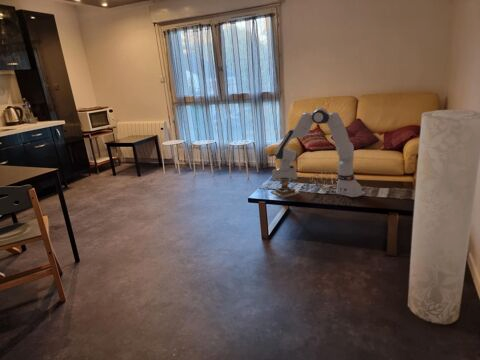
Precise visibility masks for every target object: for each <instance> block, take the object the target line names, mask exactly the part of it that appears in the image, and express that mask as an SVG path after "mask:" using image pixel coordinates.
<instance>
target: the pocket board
mask: <svg viewBox="0 0 480 360" xmlns="http://www.w3.org/2000/svg"><path fill="white" fill-rule="evenodd" d="M288 187H289V189H286V190H283V189H281V187H279V188H275V189H274V190H272V191H270V193H271V194H273V195H275V196H277V197H279V198H281V199H284V198H285V199H286V198H287V197H291V196H297V195H299V194H300V195H301V192H300V191H299V190H296V189H295V188H292V187H290V186H288Z"/></svg>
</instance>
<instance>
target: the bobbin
mask: <svg viewBox="0 0 480 360" xmlns="http://www.w3.org/2000/svg"><path fill="white" fill-rule="evenodd" d="M281 181H282V184H281V187H280V188H281V189H283V190H286V189H289V187H290V186H289V185H288V184H287V181H288V179H287V178H283V179H281Z"/></svg>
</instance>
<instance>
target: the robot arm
mask: <svg viewBox="0 0 480 360" xmlns="http://www.w3.org/2000/svg"><path fill="white" fill-rule="evenodd" d="M313 124H317V125H323V124H326V125H327V127H328V130H329V131H330V135H331V137H332V140H333V142H334V146H335V150H336V152H337V155H338V164H337V165H338V166H337V169H338V171H337V185H336V190H335V193H336V194H338V195H342V196H347V197H350V198H354V197H355V198H356V197H361V196H364V195H365V191H363V190H362V186H361V184H360V183H359V182H358V181H357V180H356V175H355V174H354V154H355V150H354V149H355V148H354V144H353V142H351V141H350V138H349V135H348V134H349V133H348V132H347V129H346V126H345V124H344V122H343V119H342V118H341V116H340V114H339V113H338V112H335V111H334V112H333V111H332V112H330V113H328V111H327V110H326V109H325V108H323V107H320V108H317V109H315V110H314V111H313V112H312V113H310V112H303V113H302V114H301V116H300V117H299V119H298V120H297V123H296V125H295V126H294V127H293V128H291V129H289V130H288V132H287V133H286V135H285V136H284V137H283V139H282V140H281V142H280V144H279V145H278V146H277V148H276V149H275V150H274V156H275V158H276V159H277V160H279V165H278V166H279V168H274V169H272V171H271V174H272V175H271V177H272V180H274V181H275V180H278V182H279V184H280V185H282V179H283V178H287V184H290V182H291V180H297V179H298V174H297V173H298V172H297V168H296V166H295V165H291V164H292V163H294V162H295V161H297V159H298V152H297V151H296V150H293V149H292V148H291V149H289V148H287V146H288V145H289V143H290V141H292V140H293V139H300V138H304V137H306V136H307V135H308V134H309V132H310V130H311V128H312V126H313Z"/></svg>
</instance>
